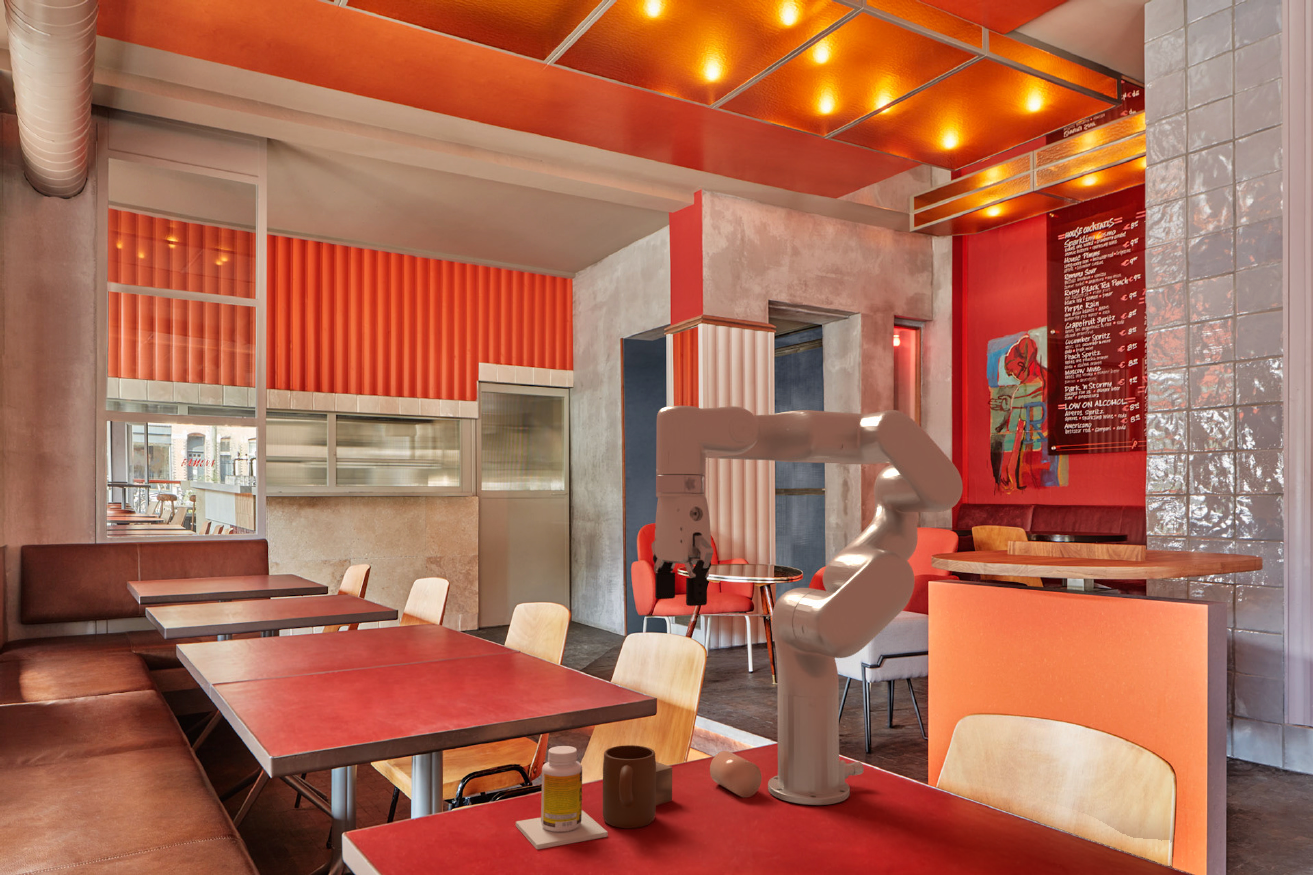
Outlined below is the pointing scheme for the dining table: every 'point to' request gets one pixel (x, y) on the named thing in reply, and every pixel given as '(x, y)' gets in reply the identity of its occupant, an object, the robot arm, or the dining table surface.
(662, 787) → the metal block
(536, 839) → the coaster
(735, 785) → the capsule
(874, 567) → the robot arm
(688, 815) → the dining table surface
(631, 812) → the mug
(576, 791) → the supplement bottle
